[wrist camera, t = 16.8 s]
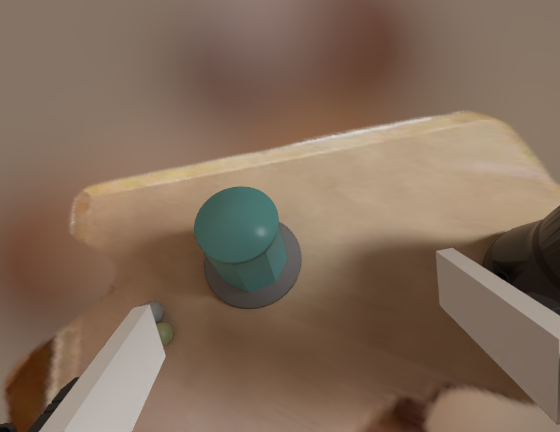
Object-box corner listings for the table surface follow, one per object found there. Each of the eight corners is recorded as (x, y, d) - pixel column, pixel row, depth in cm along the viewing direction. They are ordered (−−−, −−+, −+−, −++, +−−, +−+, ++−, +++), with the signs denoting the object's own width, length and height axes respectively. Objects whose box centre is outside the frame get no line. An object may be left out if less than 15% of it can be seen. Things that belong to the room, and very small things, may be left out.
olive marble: (168, 320, 46) (159, 314, 43) (181, 336, 45) (172, 332, 42) (150, 336, 45) (140, 332, 42) (162, 353, 44) (152, 350, 41)
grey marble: (159, 300, 47) (150, 294, 45) (171, 315, 46) (162, 310, 44) (141, 315, 47) (131, 310, 44) (153, 331, 45) (143, 327, 43)
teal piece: (297, 241, 49) (291, 200, 40) (268, 303, 45) (254, 274, 36) (238, 220, 52) (220, 177, 42) (206, 276, 48) (178, 243, 38)
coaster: (256, 202, 54) (255, 200, 53) (321, 258, 48) (321, 256, 47) (186, 261, 50) (185, 260, 49) (248, 330, 44) (247, 330, 44)
